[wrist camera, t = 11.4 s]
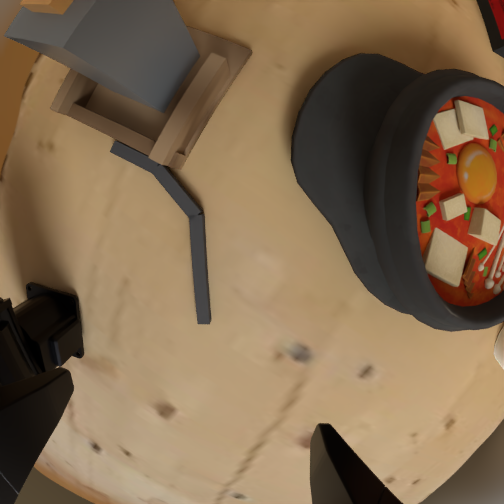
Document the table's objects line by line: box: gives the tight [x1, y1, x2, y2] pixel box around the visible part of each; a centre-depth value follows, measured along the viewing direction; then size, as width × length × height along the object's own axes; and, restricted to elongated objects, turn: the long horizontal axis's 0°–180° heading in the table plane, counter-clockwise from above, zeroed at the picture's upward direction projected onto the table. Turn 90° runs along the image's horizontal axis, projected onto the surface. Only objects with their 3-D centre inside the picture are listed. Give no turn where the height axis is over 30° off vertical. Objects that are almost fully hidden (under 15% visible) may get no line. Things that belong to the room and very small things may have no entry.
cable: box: [110, 141, 211, 324], centre depth 20 cm, size 4×15×1 cm, turn 26°
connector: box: [4, 0, 200, 113], centre depth 11 cm, size 5×5×13 cm
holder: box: [50, 26, 252, 169], centre depth 16 cm, size 10×11×4 cm
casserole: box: [291, 53, 504, 332], centre depth 15 cm, size 25×19×8 cm
